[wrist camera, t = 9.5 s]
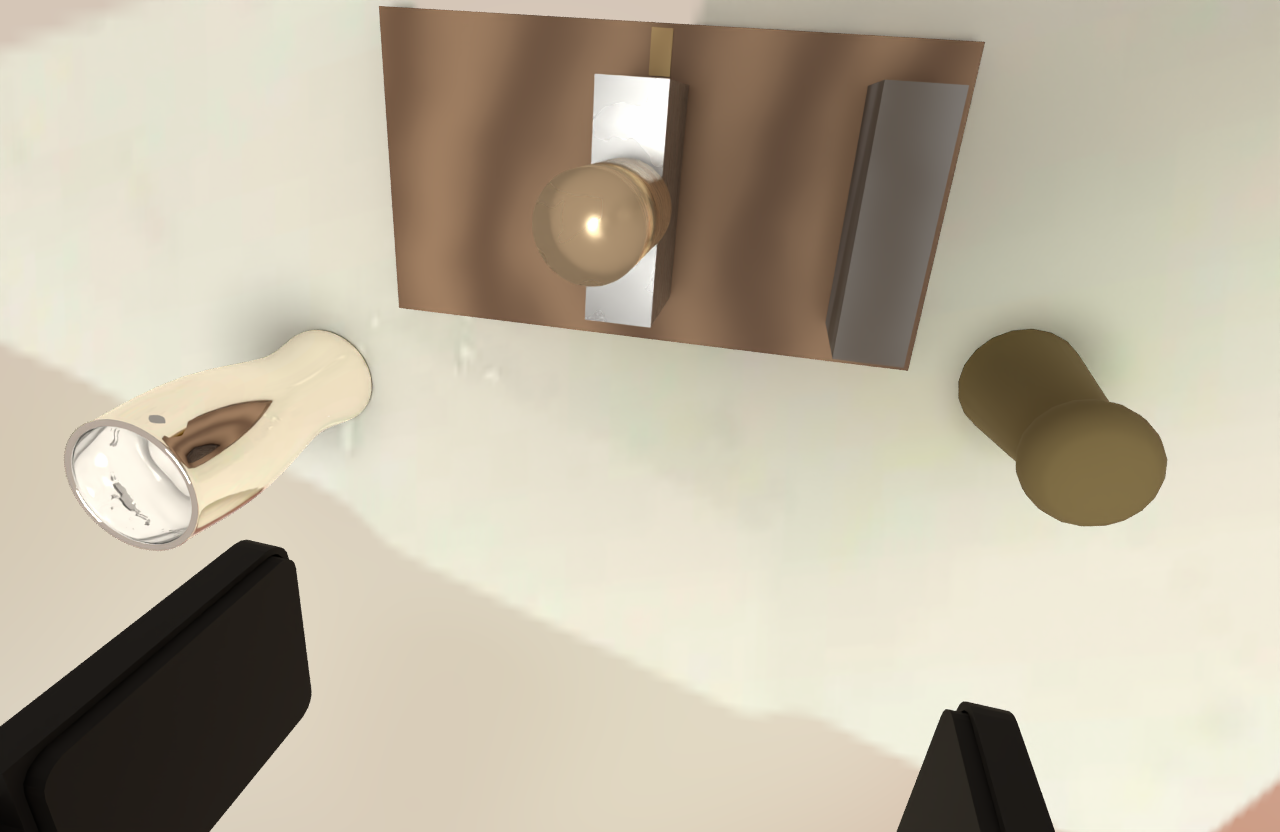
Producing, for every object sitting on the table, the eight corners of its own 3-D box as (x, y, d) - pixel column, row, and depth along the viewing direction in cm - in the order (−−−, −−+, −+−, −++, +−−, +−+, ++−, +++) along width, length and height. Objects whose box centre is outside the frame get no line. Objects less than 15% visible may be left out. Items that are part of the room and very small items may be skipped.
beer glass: (277, 409, 47) (67, 529, 33) (278, 308, 44) (49, 395, 30) (375, 439, 46) (204, 574, 32) (383, 339, 43) (198, 442, 30)
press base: (976, 45, 32) (1027, 25, 25) (903, 361, 38) (929, 415, 31) (394, 10, 36) (303, -15, 29) (411, 301, 42) (339, 337, 35)
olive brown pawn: (968, 326, 37) (1037, 404, 27) (1097, 332, 36) (1218, 416, 26) (949, 433, 39) (1005, 542, 29) (1069, 441, 38) (1170, 558, 28)
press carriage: (699, 85, 33) (657, 70, 22) (679, 297, 37) (635, 373, 26) (615, 80, 34) (533, 62, 23) (604, 288, 38) (531, 359, 27)
